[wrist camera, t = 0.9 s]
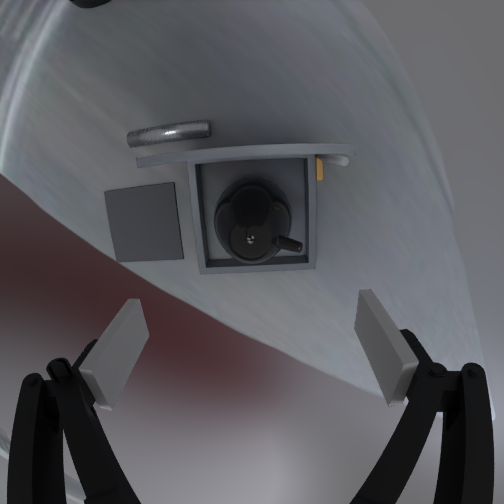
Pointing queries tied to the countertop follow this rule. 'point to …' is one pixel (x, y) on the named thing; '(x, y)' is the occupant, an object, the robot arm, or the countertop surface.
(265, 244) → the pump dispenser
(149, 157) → the case
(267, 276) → the countertop surface
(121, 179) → the countertop surface
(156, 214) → the pad
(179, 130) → the rod
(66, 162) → the countertop surface
